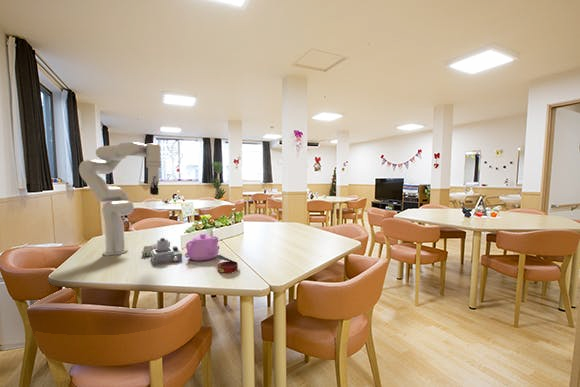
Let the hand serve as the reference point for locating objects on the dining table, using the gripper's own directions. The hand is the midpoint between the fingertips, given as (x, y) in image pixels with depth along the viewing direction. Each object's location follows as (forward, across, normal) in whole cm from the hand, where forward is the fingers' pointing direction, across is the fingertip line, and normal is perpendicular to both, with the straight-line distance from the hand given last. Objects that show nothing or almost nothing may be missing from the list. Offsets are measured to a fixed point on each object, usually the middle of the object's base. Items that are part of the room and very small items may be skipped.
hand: (154, 194), depth 150 cm
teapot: (+37, +22, +23) cm, 49 cm away
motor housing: (+36, +13, +4) cm, 39 cm away
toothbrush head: (+37, -10, +2) cm, 38 cm away
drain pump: (+32, +12, +2) cm, 35 cm away
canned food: (+37, +47, +27) cm, 65 cm away
